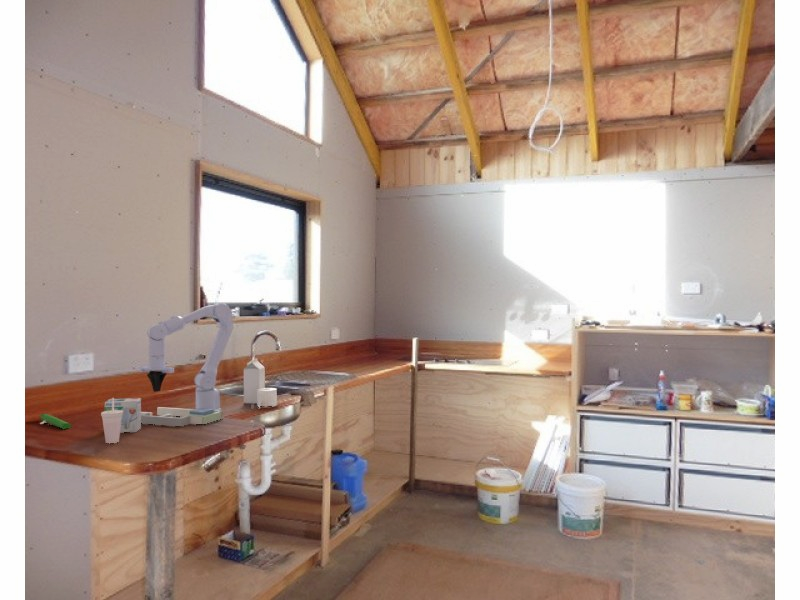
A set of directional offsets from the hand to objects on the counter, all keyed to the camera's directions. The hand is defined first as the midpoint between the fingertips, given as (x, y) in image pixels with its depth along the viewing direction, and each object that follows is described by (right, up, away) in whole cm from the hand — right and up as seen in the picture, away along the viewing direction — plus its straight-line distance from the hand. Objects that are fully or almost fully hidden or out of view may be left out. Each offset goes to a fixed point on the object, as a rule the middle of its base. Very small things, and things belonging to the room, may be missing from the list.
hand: (156, 391), depth 224 cm
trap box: (+10, -10, -7) cm, 16 cm away
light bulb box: (-2, -10, -23) cm, 26 cm away
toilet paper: (+36, -10, +22) cm, 44 cm away
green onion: (-35, -10, -11) cm, 38 cm away
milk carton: (+30, -10, +32) cm, 44 cm away
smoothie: (+2, -10, -39) cm, 41 cm away
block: (+20, -10, -9) cm, 24 cm away
